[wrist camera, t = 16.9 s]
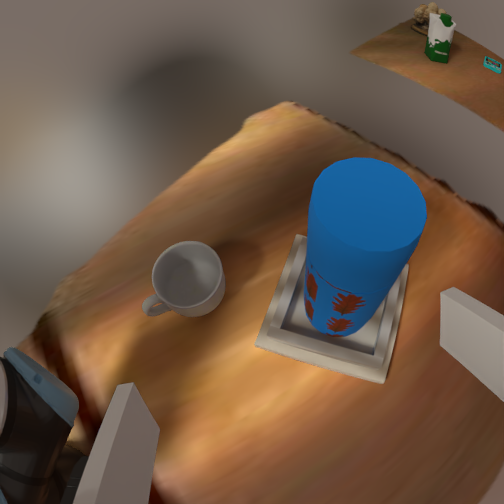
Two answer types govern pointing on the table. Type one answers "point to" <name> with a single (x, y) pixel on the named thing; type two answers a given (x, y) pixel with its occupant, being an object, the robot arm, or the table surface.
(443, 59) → the milk carton
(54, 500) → the robot arm
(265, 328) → the grey square tray
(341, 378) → the table surface
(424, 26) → the owl figurine
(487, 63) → the handheld gaming console
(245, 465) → the table surface
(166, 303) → the teacup
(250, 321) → the table surface
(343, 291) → the thermos
